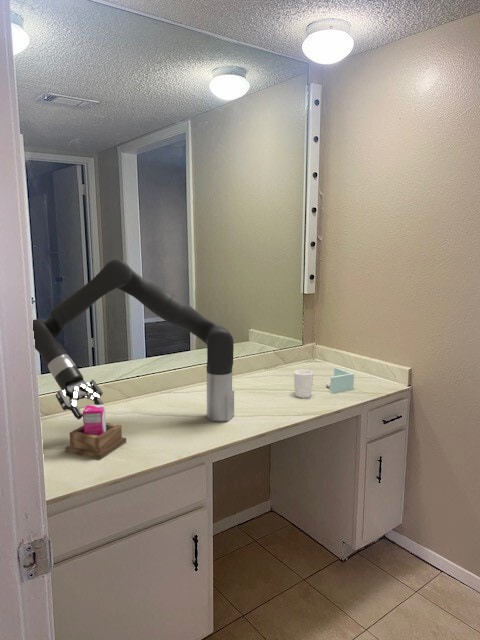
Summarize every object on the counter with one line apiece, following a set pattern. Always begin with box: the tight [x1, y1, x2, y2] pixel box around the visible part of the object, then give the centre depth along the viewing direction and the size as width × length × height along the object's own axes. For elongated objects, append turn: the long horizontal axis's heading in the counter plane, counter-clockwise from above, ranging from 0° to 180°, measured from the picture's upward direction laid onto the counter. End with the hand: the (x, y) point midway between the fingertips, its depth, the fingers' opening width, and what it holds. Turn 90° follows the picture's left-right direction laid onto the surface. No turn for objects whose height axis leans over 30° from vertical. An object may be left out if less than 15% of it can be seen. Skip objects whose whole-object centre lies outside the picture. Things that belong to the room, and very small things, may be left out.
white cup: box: [293, 369, 314, 399], centre depth 202 cm, size 8×8×10 cm
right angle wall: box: [325, 366, 355, 394], centre depth 213 cm, size 12×12×8 cm
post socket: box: [64, 422, 127, 460], centre depth 151 cm, size 13×13×6 cm
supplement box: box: [82, 403, 107, 436], centre depth 151 cm, size 6×6×12 cm
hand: (91, 413), depth 151 cm, fingers open, 8 cm apart
